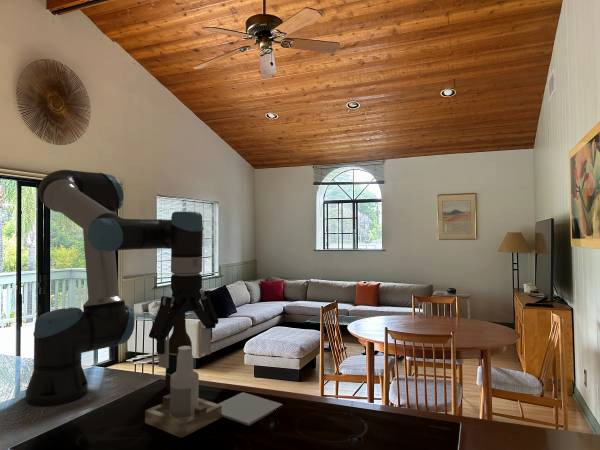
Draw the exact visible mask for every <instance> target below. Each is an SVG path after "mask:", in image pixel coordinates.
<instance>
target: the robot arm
mask: <svg viewBox="0 0 600 450" xmlns="http://www.w3.org/2000/svg"><path fill="white" fill-rule="evenodd" d="M37 191H38V192H37V193H38V197H39V199H40V201H41V204H43V205H44V206H45V207H46V208H48V209H49V210H51V211H53V212H56V213H61V214H62V215H64V216H65V217H66V218H68V219H69V220H70V221H72V222H73V223H74V224H76V225H77V226H78V227H79V228H81V229H82V231H83V232H82V234H83V236H82V237H83V247H84V259H85V260H84V261H85V272H86V274H85V275H86V284H87V285H86V286H87V287H86V288H87V298H88V299H87V301H86V302H85V303H84V304H83V306H82V307H83V310H82V309H81V308H80V307H66V308H58V309H54V310H50V311H48V312H45V313H43V314H41V315H40V316H38V317H37V318H36V319H35V320H34V321H35V322H34V330H33V372H32V374H31V377H30V379H29V382H28V386H27V388H26V390H25V402H26V403H27V404H29V405H32V406H36V407H39V406H41V407H46V406H49V407H50V406H57V405H62V404H67V403H71V402H73V401H76V400H78V399H80V398H83V397H84V396H85V395H86V394H87V393H88V390H89V389H88V388H89V387H88V386H89V384H88V380H87V378H86V374H85V371H84V369H83V367H82V354H83V353H88V352H93V351H97V350H101V349H107V348H114V347H116V346H119V345H123V344H125V343H127V342H128V341H129V340H130V339H131V336H132V335H133V333H134V329H135V325H136V324H135V321H136V319H135V313H134V312H133V309H132V308H131V307H130V306H129V305H126V302H125V298H123V297H121V296H120V294H119V292H120V291H119V282H118V269H117V259H116V256H117V255H116V251H128V250H130V251H131V250H153V249H156V250H157V249H159V250H161V249H163V250H165V249H166V250H168V249H169V250H170V253H171V254H170V258H171V259H170V272H171V273H172V275H171V276H170V290H171V291H172V294H171V296H166V295H165V296H164V295H163V296H161V297H160V305H159V307H158V311H157V313H156V316H155V319H153V320H154V321H153V323H152V325H151V329H150V330H149V333H148V337H149V338H150V339H155V340H156V353H157V354H158V367H160V368H164V369H166V368H169V338H167V337H168V336H169V334H170V333H171V331H172V330H173V326H174V324H175V322H176V321H177V319H178V317H179V316H181V315H182V313H185V314H186V313H189V312H193V313H194V314H195V316H196V317H197V318H198V320H199V321H200V322H201V324H202V326H203V327H201V331H200V332H201V337H200V338H201V339H200V341H201V342H200V343H201V344H200V348H201V349H200V350H201V351H200V353H201V354H205V355H211V353H212V351H211V350H212V349H211V348H212V340H213V329H215V328H216V327H217V326H216V325H218V324H219V319H218V316H217V314H216V311H215V308H214V305H213V303H212V300H211V292H210V291H209V290H206V289H205V290H204V289H203V275H202V274H200V273H202V272H203V239H204V238H203V237H204V226H203V224H204V223H203V215H202V213H200V212H198V211H173V212H172V213H171V217H170V218H171V219H156V218H155V219H147V218H146V219H144V218H143V219H142V218H141V219H140V218H138V219H137V218H122V217H121V216H119V215H118V210H121V208H122V207H123V201H124V197H125V196H124V189H123V187H122V183H121V182H120V181H119V179H118V178H116V176H114V175H112V174H107V173H103V172H89V171H81V170H72V169H59V170H55V171H53V172H50V173H48V174H47V175H46V176H45V177H44V178H42V180H41V181H40V182H39V185H38V190H37Z"/></svg>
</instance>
